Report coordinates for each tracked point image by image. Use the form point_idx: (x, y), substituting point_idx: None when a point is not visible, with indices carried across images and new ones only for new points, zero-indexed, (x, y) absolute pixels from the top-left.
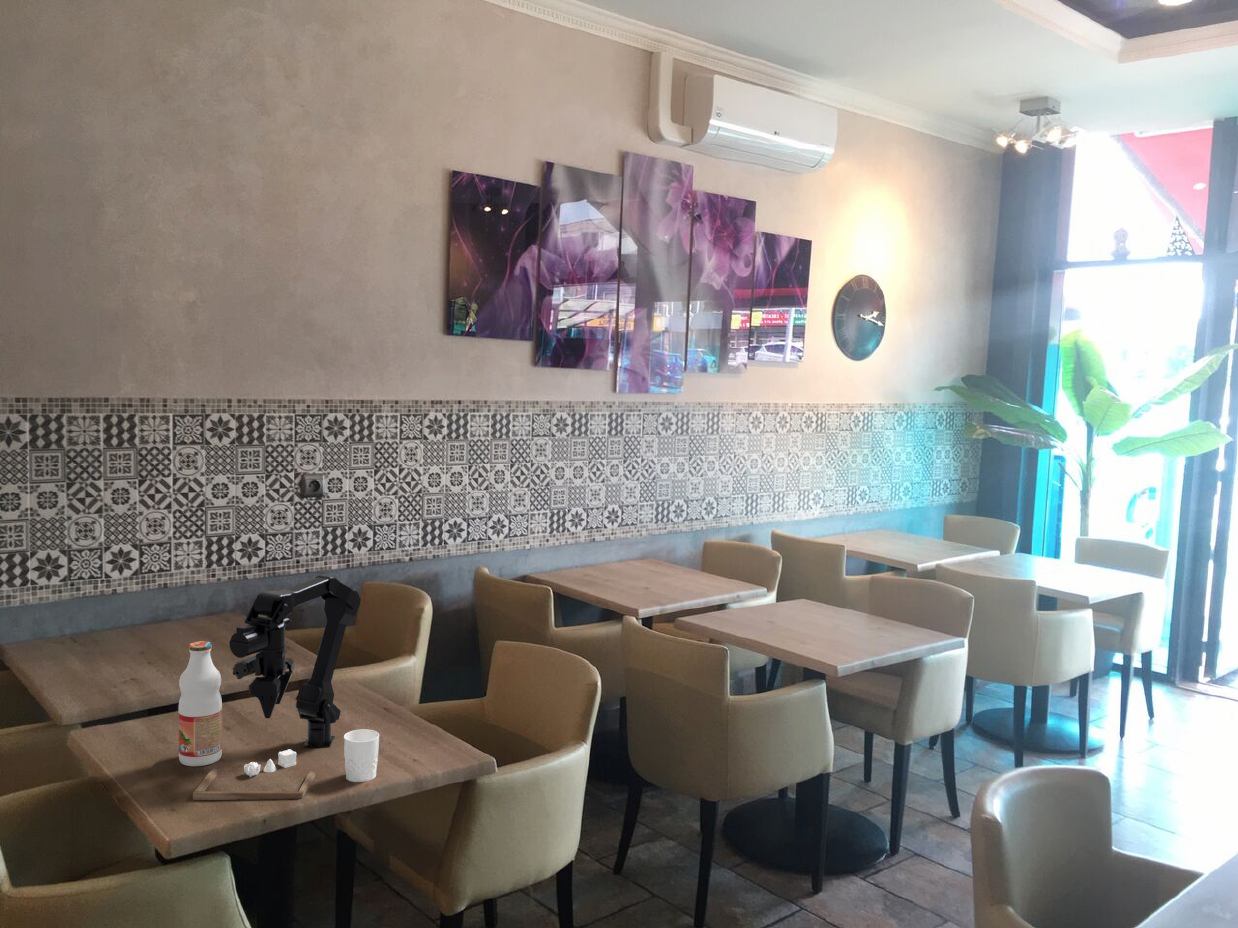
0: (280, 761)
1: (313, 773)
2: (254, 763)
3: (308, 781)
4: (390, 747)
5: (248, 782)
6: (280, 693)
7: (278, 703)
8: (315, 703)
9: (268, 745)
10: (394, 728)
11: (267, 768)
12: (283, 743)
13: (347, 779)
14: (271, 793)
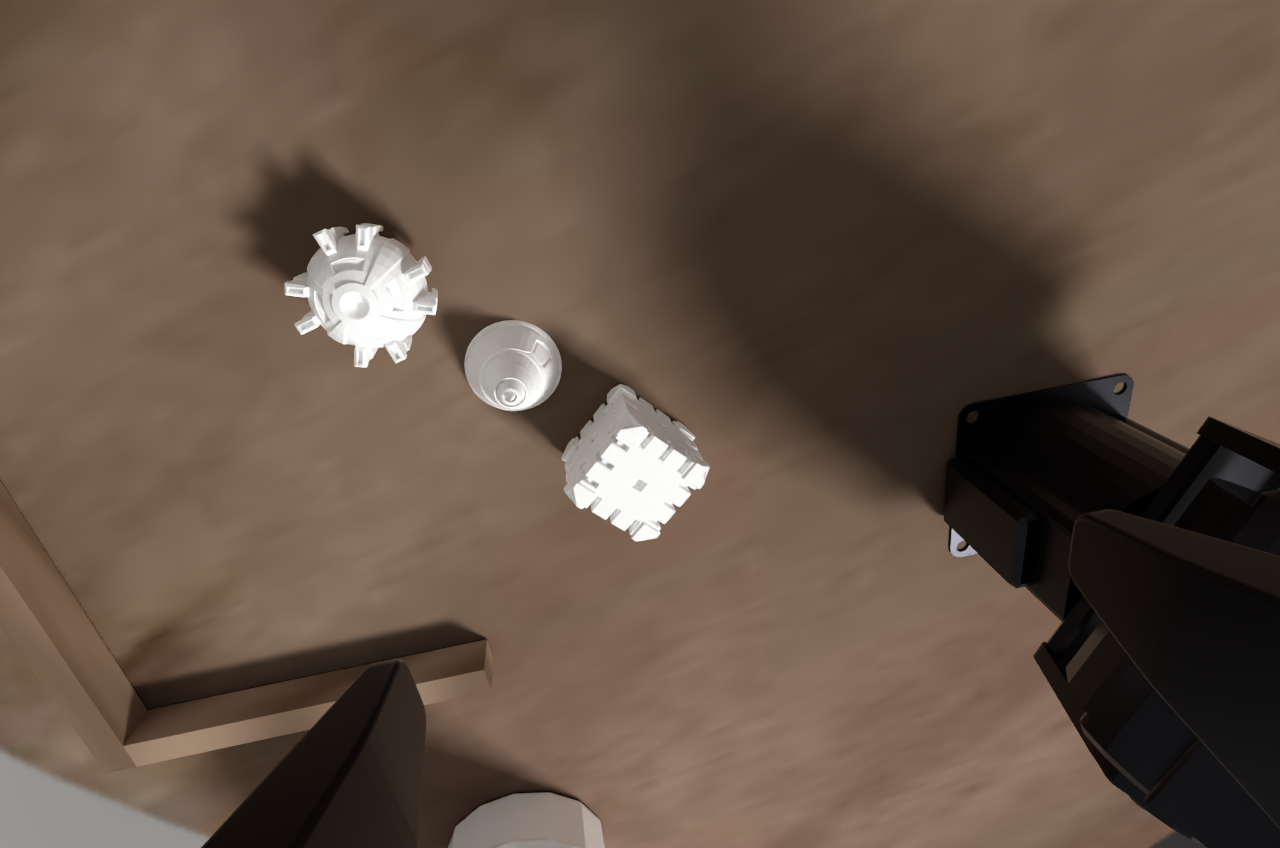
0: (603, 418)
1: (433, 698)
2: (356, 327)
3: (291, 731)
4: (916, 810)
5: (234, 317)
6: (1254, 736)
7: (1073, 570)
8: (1151, 801)
9: (979, 145)
10: None
11: (473, 372)
12: (1012, 250)
13: (467, 819)
14: (4, 621)
